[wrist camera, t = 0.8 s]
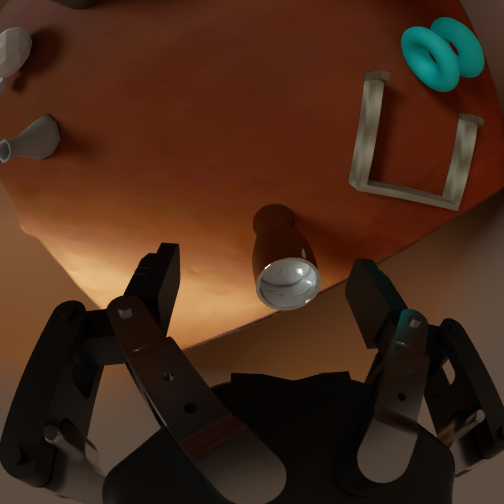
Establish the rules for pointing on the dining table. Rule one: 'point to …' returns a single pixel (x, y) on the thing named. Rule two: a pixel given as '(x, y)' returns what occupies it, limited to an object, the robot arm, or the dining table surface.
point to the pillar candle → (75, 3)
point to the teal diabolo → (442, 53)
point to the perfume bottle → (13, 52)
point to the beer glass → (282, 260)
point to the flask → (32, 141)
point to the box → (367, 144)
